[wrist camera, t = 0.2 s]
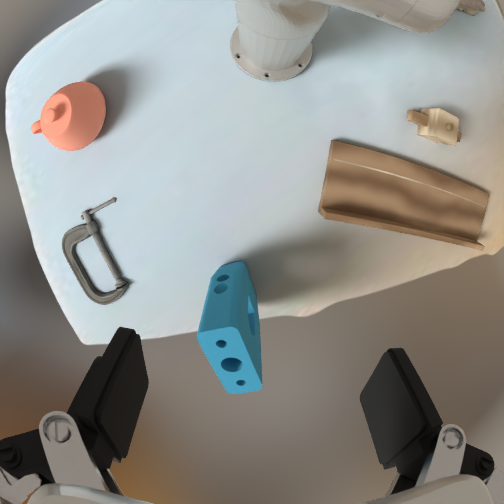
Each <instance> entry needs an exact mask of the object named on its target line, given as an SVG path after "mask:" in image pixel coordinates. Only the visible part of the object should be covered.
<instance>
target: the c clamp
mask: <svg viewBox="0 0 504 504" xmlns="http://www.w3.org/2000/svg"><path fill="white" fill-rule="evenodd" d="M113 202H116V198H115V197H114V198H112V199H111V200H109V201H107V202H105V203H103V204H102V205H100V206H98V207H96V208H94V209H93V210H90V211H89V210H87V211H85V212H83V213H82V215H81V219H85V221H86V222H87V225H80V226H76V227H74V228H72V229H70V230H69V231H67V232H66V233H65V235H64V237H63V240H62V249H63V253H64V255H65V257H66V259H67V261H68V263H69V265H70V267H71V269H72V271H73V273H74V274H75V276H76V278H77V280H78V282H79V283H80V285H81V287H82V289H83V290H84V292H85V294H86V295H87V296H88V297H89V298H90V299H91V300H92V301H94V302H95V303H97V304H101V305H107V304H110V303H113V302H115V301H116V300H118V299H119V298H120V297H121V296H122V295H123V293H124V291H125V289H126V288H127V287H128V286H129V283H128V282H126V281H124V280H123V279H122V278H120V275H119V272H118V271H117V269H116V267H115V265H114V263H113V261H112V259H111V258H110V255H109V253H108V252H107V249H106V247H105V246H104V243H103V241H102V239H101V237H100V235H99V233H98V231H99V228H98V225H97V223H96V221H93V220H92V218H91V214H93V213H94V212H96V211H98V210H100V209H102V208H104V207H105V206H107V205H109V204H111V203H113ZM90 235H92V236H93V237H94V240H95V242H96V243H97V246H98V248H99V249H100V252H101V254H102V256H103V258H104V260H105V262H106V264H107V265H108V267H109V269H110V271H111V273H112V275H113V277H114V278H115V279H116V285H115V287H117V288H116V290H115V291H112V292H109V293H101V292H99V291H98V290H96V289H95V288H94V286H93V284H92V283H91V281H90V279H89V277H88V276H87V274H86V272H85V270H84V268H83V266H82V265H81V263H80V261H79V259H78V257H77V255H76V253H75V246H76V244H77V243H79V242H81V241H83V240H85V239H87V238H88V237H90Z"/></svg>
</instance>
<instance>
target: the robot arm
mask: <svg viewBox="0 0 504 504" xmlns="http://www.w3.org/2000/svg"><path fill="white" fill-rule="evenodd" d="M459 1H460V0H235V4H236V13H237V21H238V27H237V28H236V29H235V31H234V33H233V34H232V38H231V43H230V48H231V54H232V57H233V59H234V61H235V63H236V64H237V65H238V66H239V68H240V69H241V70H243V71H244V72H245V73H246V74H248V75H250V76H252V77H254V78H257V79H260V80H265V81H282V80H286V79H290V78H292V77H294V76H296V75H298V74H299V73H300V72H302V71H303V70H304V69H305V67H306V66H307V65H308V63H309V62H310V59H311V56H312V50H313V48H312V39H313V38H314V36H315V35H316V33H317V32H318V31H319V29H320V27H321V26H322V25H323V23H324V22H325V20H326V18H327V16H328V14H329V9H330V5H331V6H337V7H341V8H344V9H348V10H351V11H354V12H357V13H361V14H364V15H366V16H369V17H372V18H375V19H378V20H380V21H383V22H386V23H388V24H391V25H393V26H396V27H398V28H401V29H404V30H407V31H410V32H415V33H428V32H432V31H434V30H436V29H438V28H440V27H441V26H442V25H443V24H444V23H445V22H446V21H447V20H448V19H449V18H450V16H451V15H452V14H453V12H454V10H455V9H456V7H457V5H458V3H459ZM237 56H240V58H237ZM299 65H301V67H299ZM265 75H268V76H269V77H265ZM148 382H149V381H148V376H147V371H146V366H145V361H144V356H143V351H142V345H141V339H140V335H139V334H136V332H135V330H134V329H129V328H124V327H119V328H118V329H117V331H116V333H115V334H114V336H113V338H112V340H111V342H110V343H109V345H108V347H107V349H106V350H105V353H104V354H103V356H102V357H101V356H98V357H97V358H96V359H95V360H94V362H93V364H92V365H91V367H90V369H89V371H88V373H87V374H86V377H85V378H84V380H83V382H82V384H81V386H80V388H79V390H78V392H77V393H76V396H75V397H74V399H73V401H72V403H71V406H70V407H69V409H68V412H67V414H66V413H64V412H60V411H54V412H50V413H48V414H46V415H45V416H44V417H43V418H42V420H41V422H40V425H39V429H36V430H33V431H29V432H26V433H22V434H19V435H15V436H12V437H8V438H4V439H2V440H1V441H0V504H22V503H23V502H24V500H25V499H27V498H28V497H29V496H28V494H30V493H31V492H32V491H34V490H35V492H34V493H33V494H32V496H31V497H30V499H29V501H28V503H27V504H153V503H149V502H145V501H141V500H137V499H133V498H129V497H126V496H124V495H123V493H122V492H121V490H120V488H119V486H118V485H117V483H116V481H115V479H114V478H113V476H112V474H111V472H110V470H109V468H110V466H111V463H112V461H116V462H119V463H120V462H121V459H122V458H126V456H127V454H128V450H129V447H130V443H131V440H132V437H133V433H134V430H135V427H136V423H137V420H138V417H139V414H140V410H141V407H142V404H143V401H144V398H145V395H146V392H147V389H148ZM360 402H361V405H362V408H363V411H364V413H365V417H366V420H367V423H368V426H369V430H370V433H371V436H372V439H373V443H374V446H375V449H376V452H377V456H378V459H379V462H380V464H383V467H384V469H388V468H392V467H395V466H396V467H397V472H396V475H395V477H394V479H393V481H392V483H391V485H390V487H389V489H388V491H387V493H386V495H385V497H383V498H379V499H376V500H372V501H368V502H363V503H360V504H504V473H503V472H502V471H501V470H500V469H498V468H497V467H495V468H494V461H493V458H492V457H491V455H490V454H488V453H487V452H484V451H482V450H480V449H478V448H475V447H473V446H471V445H469V444H467V443H466V436H465V433H464V432H463V430H462V429H461V428H460V427H458V426H456V425H453V424H449V425H446V426H444V427H443V428H442V427H441V425H442V424H443V422H442V420H441V418H440V416H439V414H438V412H437V410H436V408H435V406H434V404H433V402H432V400H431V398H430V396H429V394H428V392H427V390H426V388H425V387H424V385H423V383H422V381H421V379H420V377H419V375H418V374H417V372H416V370H415V368H414V366H413V365H412V363H411V361H410V359H409V358H408V356H407V354H406V352H405V351H404V349H402V348H391V349H388V350H387V352H385V353H384V354H383V356H382V357H381V359H380V361H379V363H378V365H377V367H376V368H375V370H374V372H373V374H372V375H371V377H370V379H369V380H368V382H367V384H366V386H365V387H364V389H363V390H362V392H361V394H360Z"/></svg>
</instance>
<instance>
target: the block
mask: <svg viewBox="0 0 504 504" xmlns="http://www.w3.org/2000/svg"><path fill="white" fill-rule="evenodd" d="M197 340H198V342H199V344H200V346H201V348H202V349H203V351H204V353H205V355H206V357H207V358H208V360H209V362H210V364H211V366H212V367H213V369H214V370H215V372H216V374H217V376H218V377H219V379H220V381H221V383H222V384H223V386H224V388H225V389H226V391H227V392H228V393H231V394H239V393H245V392H251V391H257V390H260V389H261V388H262V364H261V342H260V323H259V314H258V306H257V297H256V293H255V290H254V287H253V284H252V281H251V278H250V275H249V272H248V269H247V266H246V263H245V262H243V261H238V262H234V263H230V264H226V265H222V266H221V267H220V268H219V269H218V270H217V271H216V272H215V274H214V275H213V276H212V277H211V281H210V285H209V289H208V292H207V296H206V300H205V304H204V308H203V313H202V317H201V321H200V325H199V329H198V334H197Z"/></svg>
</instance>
